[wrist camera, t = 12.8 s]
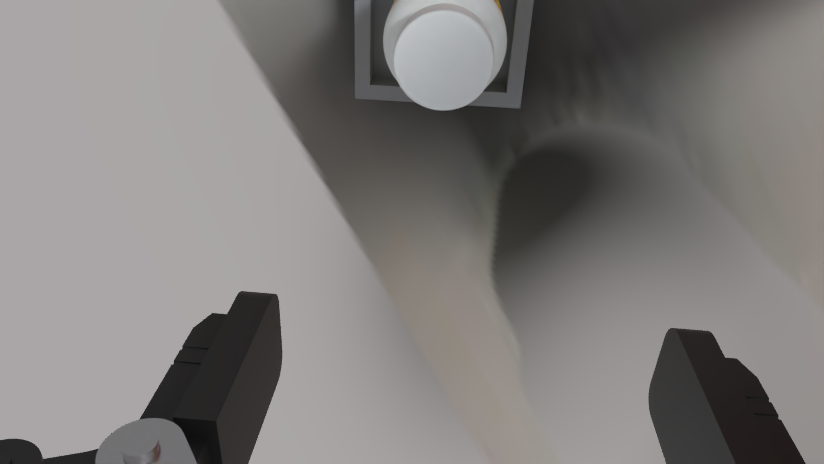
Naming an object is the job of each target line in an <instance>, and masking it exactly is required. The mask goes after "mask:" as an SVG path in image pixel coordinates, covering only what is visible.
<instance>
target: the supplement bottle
mask: <svg viewBox="0 0 824 464" xmlns="http://www.w3.org/2000/svg"><path fill="white" fill-rule="evenodd" d="M383 48H384V54H385V58H386V62H387V64H388V67H389V69H390V71H391V73H392V74H393V76H394V78H395V79H396V80H397V81H398V83H399V85H400V87H401V88H402V90H403V91H404V92H405V94H406V95H407V96H408V97H409V98H410V99H412V100H413V101H414V102H416V103H418V104H419V105H421V106H423V107H426V108H429V109H433V110H441V111H445V110H453V109H458V108H461V107H463V106H465V105H468V104H469V103H471V102H472V101H474V100H475V99H476V98H477V97H479V95H480V94H481V93H482V92H483V91H484V90H485V88H486V87H487V86H488V85H489V84H490V83H491V82H492V81H493V79H494V78H495V77H496V75H497V74H498V72H499V70H500V68H501V66H502V64H503V61H504V57H505V54H506V48H507V32H506V26H505V22H504V18H503V14H502V10H501V6H500V3H499V0H394V3H393V5H392V7H391V10H390V12H389V14H388V17H387V20H386V23H385V27H384V34H383Z"/></svg>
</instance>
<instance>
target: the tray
mask: <svg viewBox="0 0 824 464" xmlns="http://www.w3.org/2000/svg"><path fill="white" fill-rule="evenodd" d="M393 3H394V0H354V25H355V99H368V100H385V101H402V102H414V101H413V100H412V99H410V98H409V97H408V96H407V95H406V94H405V92H404V91H403V90H402V88H401V87H400V85H399V83H398V81H397V80H396V79H395V78H394V76H393V74H392V73H391V71H390V69H389V67H388V64H387V62H386V58H385V54H384V48H383V34H384V27H385V23H386V20H387V17H388V14H389V12H390V10H391V7H392V5H393ZM499 3H500V6H501V10H502V14H503V18H504V22H505V26H506V32H507V48H506V54H505V57H504V61H503V64H502V66H501V68H500V70H499V72H498V74H497V75H496V77H495V78H494V79H493V81H492V82H491V83H490V84H489V85H488V86H487V87H486V88H485V90H484V91H483V92H482V93H481V94H480V95H479V97H477V98H476V99H475V100H474V101H472V102H471V103H469V104H468V105H470V106H487V107H504V108H520V106H521V98H522V90H523V82H524V75H525V67H526V59H527V51H528V43H529V35H530V28H531V20H532V12H533V4H534V0H499Z"/></svg>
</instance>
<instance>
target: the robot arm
mask: <svg viewBox="0 0 824 464" xmlns="http://www.w3.org/2000/svg"><path fill="white" fill-rule="evenodd" d="M281 365H282V340H281V326H280V311H279V300H278V296H277V295H276V294H269V293H257V292H244V291H241V292H239V293H238V295H237V297H236V299H235V300H234V302H233V304H232V306H231V308H230V310H229V312H228V314H216V313H212V314H211V315H209V316H208V317H207V318H206V319H204V320H203V321H202V322H200V323H199V324H198V325H197V326H195V327H194V328H193V329H192V331H191V333H190V334H189V336H188V338H187V339H186V341H185V343H184V345H183V348H182V350H180V351H179V353H178V355H177V357H176V358H175V360H174V364H173V365H171V367H170V368H169V370H168V372H167V374H166V375H165V377H164V379H163V381H162V382H161V384H160V385H159V387H158V389H157V391H156V392H155V394H154V396H153V398H152V399H151V401H150V403H149V405H148V406H147V408H146V409H145V411H144V413H143V415H142V416H141V418H140V419H139V420H137V421H134V422H131V423H128V424H126V425H124V426H122V427H120V428H118V429H117V430H115V431H114V432H113V433H111V434H110V435H109V436H108V437H107V438H106V439H105V440H104V441H103V443H102V444H101V445H100V447H99V449H96V450H92V451H88V452H83V453H77V454H71V455H65V456H59V457H53V458H47V459H43V457H42V454H41V452H40V450H39V448H38V447H37V446H35V444H33V443H31V442H29V441H26V440H22V439H5V440H0V464H248V462H249V460H250V457H251V454H252V451H253V449H254V446H255V443H256V440H257V438H258V435H259V432H260V430H261V427H262V424H263V421H264V419H265V416H266V413H267V410H268V408H269V405H270V402H271V399H272V397H273V394H274V391H275V388H276V386H277V382H278V380H279V376H280V371H281ZM649 409H650V415H651V418H652V421H653V424H654V427H655V430H656V433H657V436H658V439H659V443H660V446H661V449H662V452H663V455H664V457H665V461H666V464H805V462H804V460H803V458H802V456H801V455H800V453H799V451H798V449H797V448H796V446H795V444H794V442H793V440H792V439H791V437H790V435H789V433H788V432H787V430H786V428H785V426H784V424H783V423H782V421H781V420H779V419H778V414H777V412H776V410H775V409H774V406H773V405H772V403H771V402H769V398H768V396H767V394H766V392H765V390H764V389H763V387H762V385H761V383H760V382H759V380H758V378H757V377H756V376H755V375H754V374H753V373H752V372H751V371H749V370H748V369H747V368H746V367H745V366H744V365H743V364H742V363H741V362H740V361H739V360H737V359H734V358H725V357H724V355H723V353H722V351H721V349H720V347H719V345H718V343H717V341H716V339H715V337H714V336H713V334H712V333H711V332H709V331H701V330H688V329H676V328H671V329H669V330H668V332H667V333H666V336H665V338H664V342H663V345H662V348H661V351H660V354H659V358H658V361H657V364H656V368H655V371H654V374H653V377H652V380H651V384H650V389H649Z"/></svg>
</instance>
